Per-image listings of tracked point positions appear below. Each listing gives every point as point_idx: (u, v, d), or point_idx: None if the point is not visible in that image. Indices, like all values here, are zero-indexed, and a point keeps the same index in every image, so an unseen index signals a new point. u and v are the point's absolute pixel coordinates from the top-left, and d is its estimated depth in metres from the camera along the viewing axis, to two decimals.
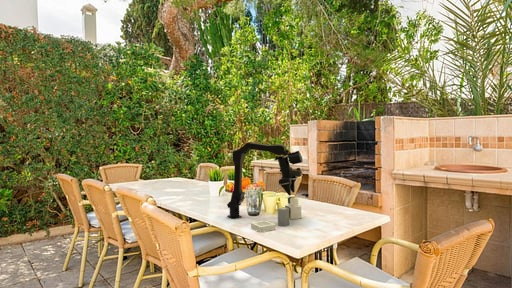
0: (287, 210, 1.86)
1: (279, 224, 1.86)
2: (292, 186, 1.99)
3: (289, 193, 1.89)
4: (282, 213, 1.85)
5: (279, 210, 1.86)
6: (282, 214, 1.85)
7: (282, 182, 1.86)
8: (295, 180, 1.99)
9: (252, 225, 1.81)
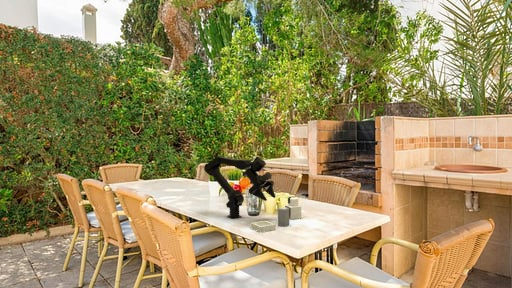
0: (287, 210, 1.86)
1: (279, 224, 1.86)
2: (271, 192, 1.96)
3: (264, 198, 1.87)
4: (282, 213, 1.85)
5: (279, 210, 1.86)
6: (282, 214, 1.85)
7: (251, 191, 1.87)
8: (272, 185, 1.97)
9: (252, 225, 1.81)
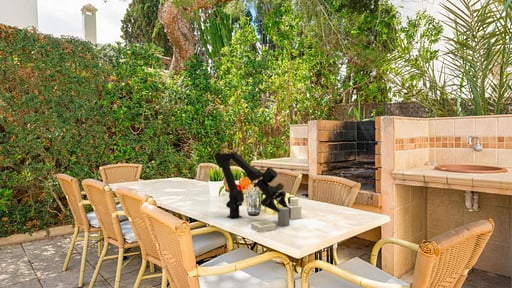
0: (287, 210, 1.86)
1: (279, 224, 1.86)
2: (283, 203, 1.92)
3: (277, 210, 1.83)
4: (282, 213, 1.85)
5: (279, 210, 1.86)
6: (282, 214, 1.85)
7: (263, 202, 1.83)
8: (284, 196, 1.93)
9: (252, 225, 1.81)
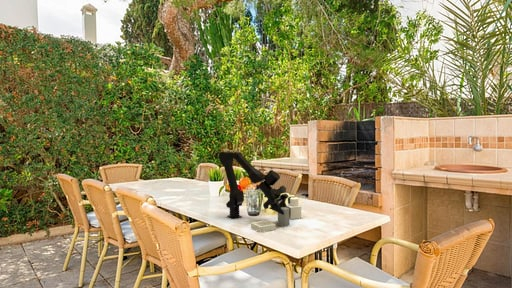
0: (287, 210, 1.86)
1: (279, 224, 1.86)
2: None
3: (281, 212, 1.84)
4: None
5: None
6: None
7: (266, 205, 1.82)
8: (284, 200, 1.91)
9: (252, 225, 1.81)
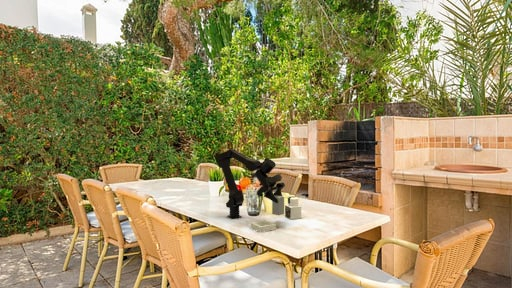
0: (282, 198, 1.83)
1: (273, 212, 1.84)
2: (279, 195, 1.87)
3: (275, 200, 1.82)
4: None
5: None
6: None
7: (259, 193, 1.80)
8: (280, 188, 1.88)
9: (252, 225, 1.81)
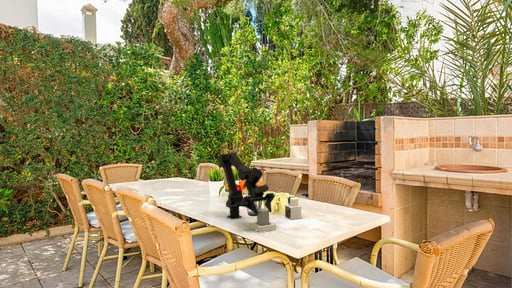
0: (266, 212, 1.79)
1: None
2: (268, 206, 1.83)
3: (256, 212, 1.77)
4: (260, 215, 1.78)
5: (258, 211, 1.80)
6: (260, 215, 1.79)
7: (242, 203, 1.79)
8: (269, 199, 1.84)
9: (252, 225, 1.81)
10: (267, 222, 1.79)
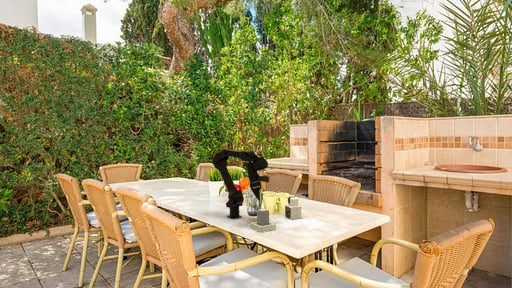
0: (266, 212, 1.79)
1: None
2: None
3: (258, 198, 1.87)
4: (260, 215, 1.78)
5: (258, 211, 1.80)
6: (260, 215, 1.79)
7: (253, 185, 1.84)
8: None
9: (252, 225, 1.81)
10: (267, 222, 1.79)
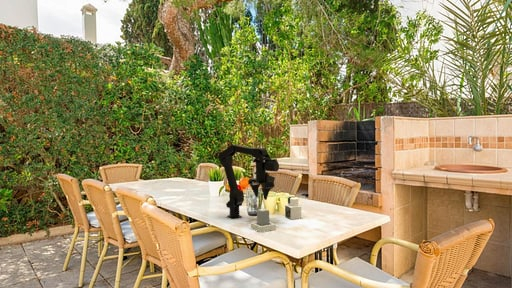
0: (266, 212, 1.79)
1: None
2: (256, 190, 1.99)
3: (266, 197, 1.90)
4: (260, 215, 1.78)
5: (258, 211, 1.80)
6: (260, 215, 1.79)
7: (268, 186, 1.86)
8: None
9: (252, 225, 1.81)
10: (267, 222, 1.79)
